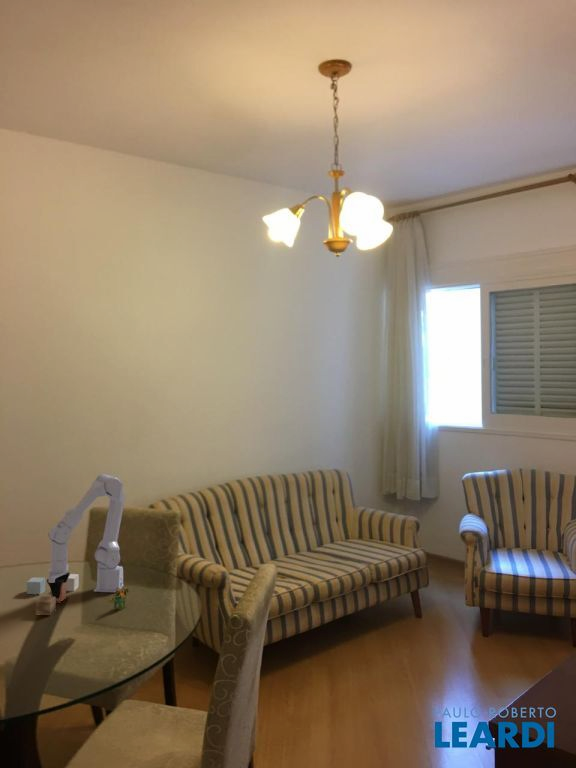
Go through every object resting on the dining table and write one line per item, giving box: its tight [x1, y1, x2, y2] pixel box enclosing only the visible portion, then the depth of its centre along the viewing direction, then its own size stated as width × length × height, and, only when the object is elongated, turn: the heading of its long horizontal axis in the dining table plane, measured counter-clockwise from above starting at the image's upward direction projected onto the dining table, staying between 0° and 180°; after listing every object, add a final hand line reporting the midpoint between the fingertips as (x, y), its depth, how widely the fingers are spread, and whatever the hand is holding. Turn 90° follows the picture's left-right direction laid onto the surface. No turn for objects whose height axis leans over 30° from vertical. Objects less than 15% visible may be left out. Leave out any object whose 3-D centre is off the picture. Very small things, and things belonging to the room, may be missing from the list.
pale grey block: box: [66, 573, 80, 592], centre depth 247 cm, size 5×5×5 cm
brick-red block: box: [50, 582, 67, 602], centre depth 235 cm, size 4×4×6 cm
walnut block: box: [35, 595, 57, 615], centre depth 223 cm, size 5×5×5 cm
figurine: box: [107, 586, 130, 612], centre depth 228 cm, size 3×12×8 cm, turn 158°
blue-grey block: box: [26, 576, 47, 595], centre depth 242 cm, size 5×5×5 cm
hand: (58, 595), depth 235 cm, fingers closed on brick-red block, 4 cm apart
